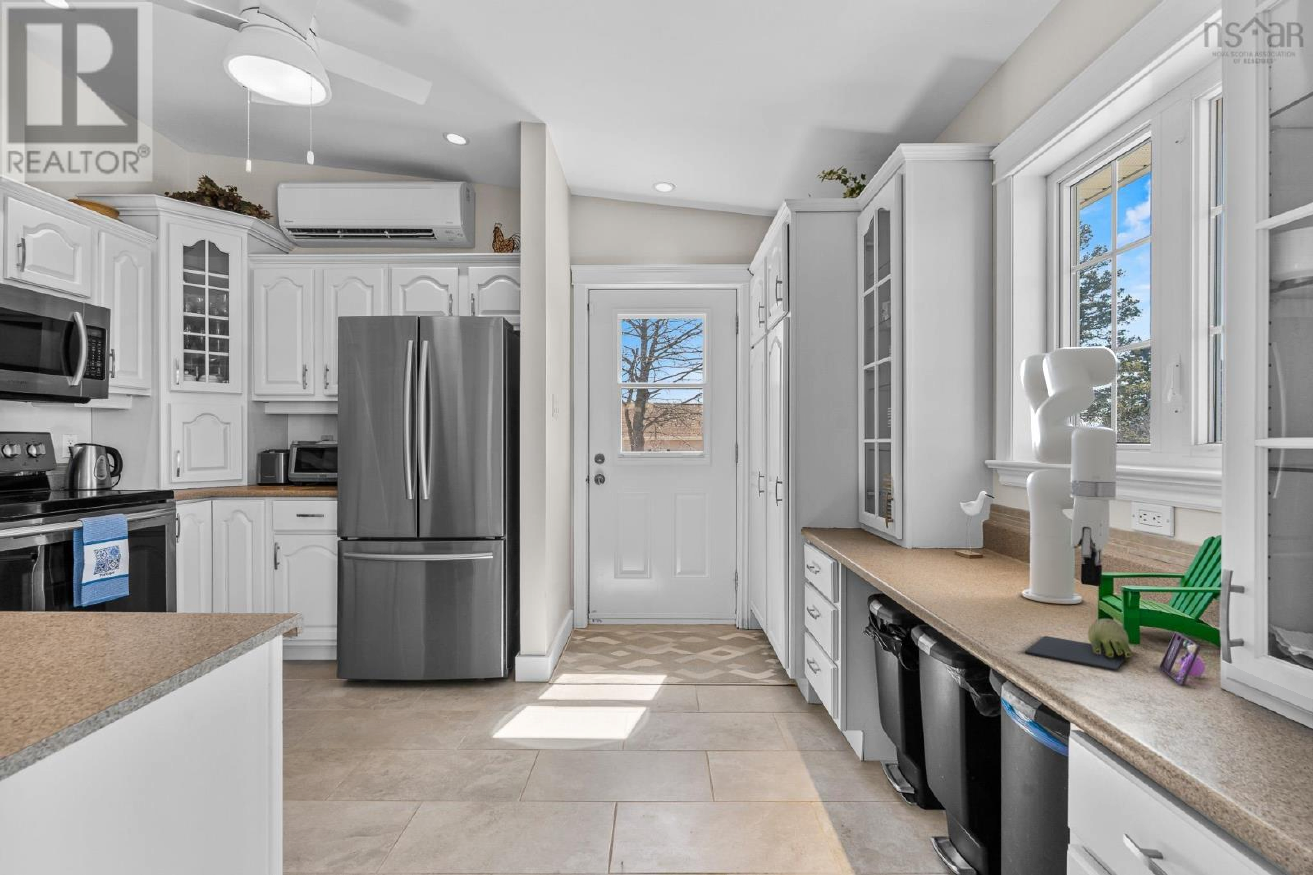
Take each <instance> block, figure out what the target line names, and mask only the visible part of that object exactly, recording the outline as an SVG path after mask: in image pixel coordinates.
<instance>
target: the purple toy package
mask: <svg viewBox="0 0 1313 875" xmlns="http://www.w3.org/2000/svg"><path fill="white" fill-rule="evenodd" d="M1182 647H1183V648H1184V649H1185V650H1187V651H1188V652H1187V653H1184V654H1182V655H1181V656H1180V657H1179V659H1178V660H1177V658H1178V655H1179V653H1180V651H1181V649H1182ZM1200 650H1201V645H1199V644H1197V643H1196V642H1194V641H1193V640H1191V639H1190V638H1188V637H1187V636H1185V635H1183V634H1181V633H1180V632H1179V631H1177V630H1176V631H1174V632H1173V635H1172V637H1171V639H1170V641H1169V643H1168V647H1167V649H1166V650H1165V653H1164V655H1163V657H1162V659H1161V660H1162V661H1161V662H1160V664H1159V668H1160V669H1161V670H1162V671H1163V672H1164V673H1166V674H1167V675H1168V676H1169V677H1170V678H1172V679H1173V680H1174V681H1176V682H1177V683H1178V684H1179V685H1181V686H1184V685H1185V684H1186V681H1187V679H1188V677H1189V676H1190V677H1196V678H1197V677H1198V678H1199V679H1201V678H1203V675H1204V673H1205V671H1206V665H1205V662H1204V661H1203V660H1202V659H1201V657H1199V655H1198V654H1199V652H1200ZM1176 660H1177V662H1178V665H1179V667H1180V670H1179V673H1178V677H1177V676H1176V675H1175V674H1173V673H1172V670H1173V667H1174V665H1175V663H1176ZM1183 673H1184V674H1183Z"/></svg>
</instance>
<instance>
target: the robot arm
mask: <svg viewBox="0 0 1313 875" xmlns="http://www.w3.org/2000/svg"><path fill="white" fill-rule="evenodd" d="M1118 364H1119V363H1118V359H1117V356H1116V354H1115V353H1114V351H1113V350H1112V349H1110V348H1109V347H1106V346H1075V347H1074V346H1073V347H1070V346H1069V347H1060V348H1057V349H1054V350H1052V351H1050V352H1045V353H1044V352H1043V353H1035V354H1032V355H1029V356H1027V357H1026V358H1024V359H1023V361H1022V362H1021V365H1020V380H1021V381H1020V382H1021V386H1022V389H1023V392H1024V395H1025V397H1026V399H1027V402H1028V405H1029V408H1030V419H1031V420H1030V422H1031V448H1032V449H1031V450H1032V455H1033V458H1034V459H1035V461H1037V462H1038V463H1041V464H1046V465H1070V469H1069V468H1068V469H1067V468H1044V469H1037V470H1035V471H1033V472H1031V473H1030V474H1029V475H1028V477H1027V480H1026V493H1027V498H1028V500H1027V501H1028V506H1029V507H1028V508H1029V524H1030V525H1029V529H1030V530H1029V588H1028V589H1024V590H1022V597H1024V598H1025V599H1029V600H1030V601H1031V600H1032V601H1035V602H1036V601H1037V602H1040V603H1048V604H1057V605H1076V604H1080V603H1082V601H1083V599H1082V598H1083V597H1082V596H1081V595H1079V594H1077V593H1075V574H1076V573H1075V572H1076V571H1075V567H1076V566H1075V565H1076V564H1075V562H1076V558H1075V557H1076V555H1075V554H1076V549H1078V548H1081V552H1080V553H1081V563H1080V583H1081V584H1082V585H1085V586H1093V587H1100V586H1101V585H1102V584H1103V564H1102V560H1103V549H1105V548H1106V547H1107V546H1108V545H1109V540H1110V501H1112V500H1116V497H1117V494H1116V493H1117V447H1118V446H1117V442H1118V441H1117V440H1118V439H1117V433H1116V431H1115V429H1113V428H1111V427H1105V426H1097V425H1096V426H1095V425H1093V426H1092V425H1073V424H1072V422H1071V417H1073V416H1076V415H1079V414H1081V413H1083V412H1085V411H1086V410H1088V409H1090V408H1091V406H1092V405H1093V404H1094V402H1095V397H1096V395H1095V390H1094V388H1098V387H1104V386H1107V385H1110V384H1111V383H1113V381H1114V380H1115V379H1116V378H1117V374H1118V371H1119V370H1118V368H1119V366H1118ZM1063 510H1072V517H1071V518H1072V520H1071V519H1070V518H1069V517H1068V516H1067V515H1066V514H1065V513H1064V511H1063Z"/></svg>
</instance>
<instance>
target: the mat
mask: <svg viewBox="0 0 1313 875" xmlns="http://www.w3.org/2000/svg"><path fill="white" fill-rule="evenodd" d="M1112 649H1113V648H1112ZM1113 652H1114V657H1113V658H1109V657H1108V656H1106V654H1105V652H1104V649H1103V648H1102V647H1101V654H1100V655H1097V654H1096V653H1094V652H1093V648H1092V644H1091V643H1089V642H1082V641H1077V640H1071V639H1066V638H1059V637H1054V636H1048V635H1044V636H1042V637H1041V638H1040V639H1039V640H1038V641H1036V642H1035V643H1034V644H1032V645H1031V646H1030V647H1029V648H1027V649H1026V650H1025V651H1024V654H1026V655H1032V656H1037V657H1043V658H1048V659H1052V660H1058V661H1063V662H1068V663H1073V664H1077V665H1085V666H1089V667H1094V668H1098V669H1103V670H1109V671H1113V672H1114V671H1115V672H1117V671H1118V670H1119V669H1120V667H1121V666H1122V665H1123V664H1124V662H1125V661H1126V660H1127V659H1128V658H1126V657H1125V655H1124V654H1122V655H1117V653H1116V652H1115V650H1114V649H1113Z"/></svg>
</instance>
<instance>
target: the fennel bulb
mask: <svg viewBox="0 0 1313 875" xmlns="http://www.w3.org/2000/svg"><path fill="white" fill-rule="evenodd" d="M1087 638H1088V640H1089V643H1090V644H1092V648H1093V652H1094V653H1096V654H1097V655H1100V654H1101V647H1102V648H1103V649H1104V652H1105V654H1106V656H1108V657H1109V658H1113V657H1114V652H1113V649H1114V650H1115V652H1116V653H1117V655H1122V654H1124V655H1125V657H1126V658H1127V659H1128V658H1129V659H1131V658H1132V657H1134V652H1133V651H1132V649H1131V648H1130V646H1129V640H1130V639H1129V635H1128V632H1127V631H1126V630H1125V628H1124V627H1123V626H1122V625H1120V623H1119V622H1117V621H1116V620H1114V619H1112V618H1104V617H1103V618H1099V619H1097V620H1095V621H1094V622H1093V623H1092V624H1091V625H1090V626H1089V628H1088V630H1087ZM1112 648H1113V649H1112Z"/></svg>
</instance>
